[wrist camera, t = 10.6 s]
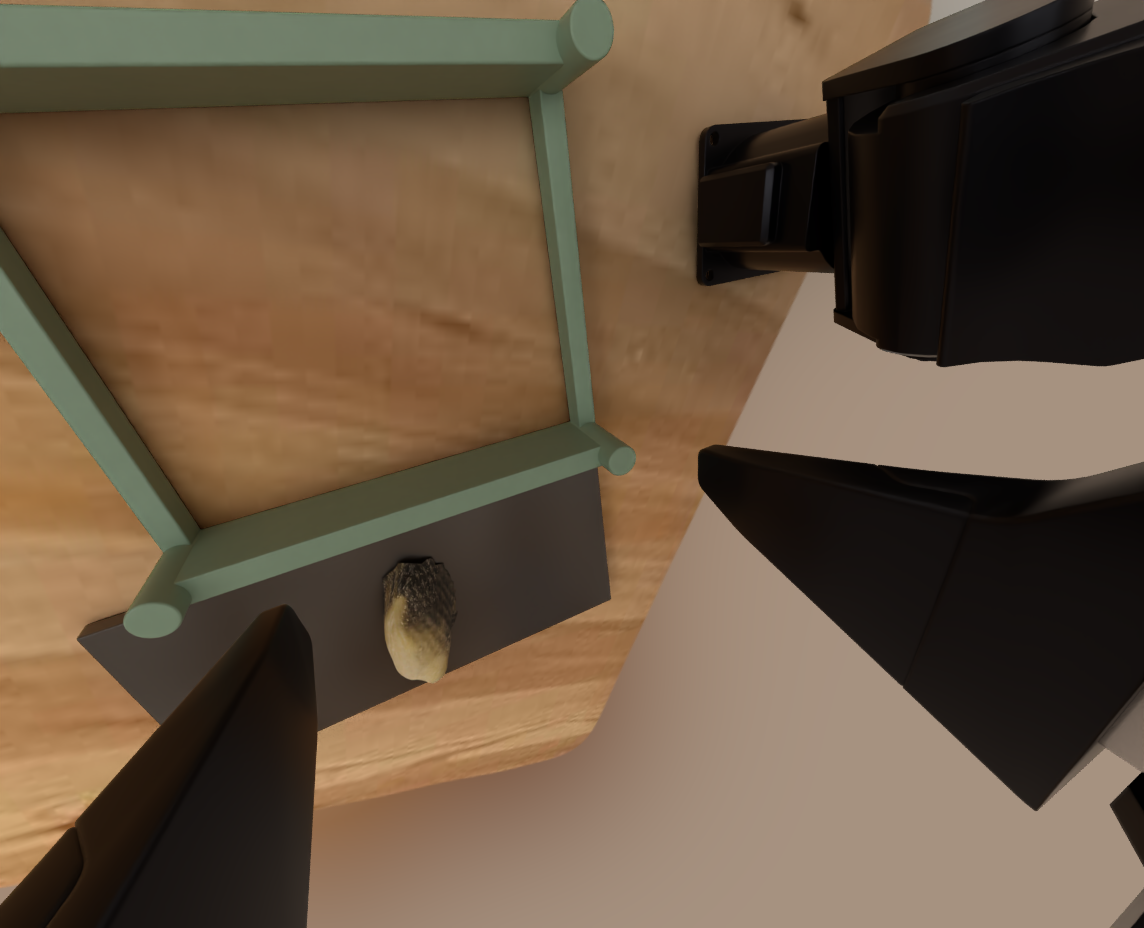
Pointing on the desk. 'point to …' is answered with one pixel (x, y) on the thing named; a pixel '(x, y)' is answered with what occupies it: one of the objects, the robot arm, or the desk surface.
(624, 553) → the desk surface
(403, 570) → the brazil nut
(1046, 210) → the robot arm
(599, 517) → the board
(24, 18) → the frame
